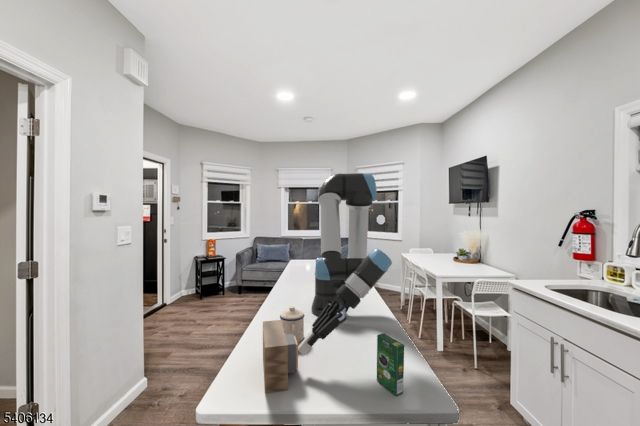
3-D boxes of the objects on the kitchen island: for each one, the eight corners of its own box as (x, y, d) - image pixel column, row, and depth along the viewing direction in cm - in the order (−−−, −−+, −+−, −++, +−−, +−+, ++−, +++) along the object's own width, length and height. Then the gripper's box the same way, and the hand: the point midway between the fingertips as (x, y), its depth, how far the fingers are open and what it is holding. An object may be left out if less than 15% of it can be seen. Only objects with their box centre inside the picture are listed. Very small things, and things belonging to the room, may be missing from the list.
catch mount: (281, 356, 94) (281, 319, 94) (287, 390, 76) (287, 345, 76) (262, 358, 93) (262, 321, 92) (265, 393, 75) (264, 347, 75)
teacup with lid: (279, 333, 111) (279, 303, 111) (302, 332, 112) (302, 302, 112) (280, 348, 99) (280, 315, 99) (306, 346, 101) (306, 313, 101)
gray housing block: (294, 358, 89) (294, 333, 89) (298, 371, 83) (298, 343, 82) (266, 362, 87) (266, 336, 87) (267, 375, 81) (267, 346, 81)
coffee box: (405, 393, 75) (405, 343, 75) (396, 397, 73) (396, 346, 73) (384, 378, 82) (383, 332, 82) (376, 380, 80) (376, 334, 80)
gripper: (369, 305, 84) (314, 370, 80) (353, 293, 97) (305, 348, 93) (351, 289, 83) (294, 354, 79) (338, 278, 95) (288, 334, 92)
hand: (300, 351), depth 86 cm, fingers closed
